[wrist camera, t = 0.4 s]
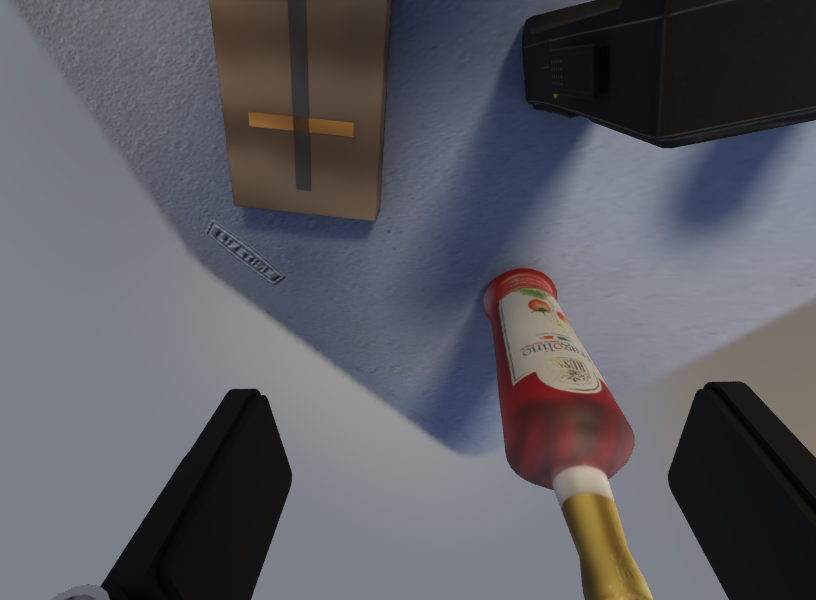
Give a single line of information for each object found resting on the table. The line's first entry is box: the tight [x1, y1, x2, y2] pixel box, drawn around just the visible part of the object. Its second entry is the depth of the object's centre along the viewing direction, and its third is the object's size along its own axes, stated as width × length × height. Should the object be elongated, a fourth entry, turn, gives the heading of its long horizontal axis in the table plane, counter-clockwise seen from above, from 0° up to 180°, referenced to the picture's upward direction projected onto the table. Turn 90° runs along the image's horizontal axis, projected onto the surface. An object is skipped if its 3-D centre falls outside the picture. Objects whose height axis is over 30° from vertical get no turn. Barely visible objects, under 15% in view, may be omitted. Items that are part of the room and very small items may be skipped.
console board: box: [209, 0, 392, 221], centre depth 30 cm, size 26×12×3 cm, turn 175°
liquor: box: [483, 268, 653, 600], centre depth 29 cm, size 7×7×28 cm
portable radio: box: [522, 0, 816, 148], centre depth 20 cm, size 8×6×25 cm
